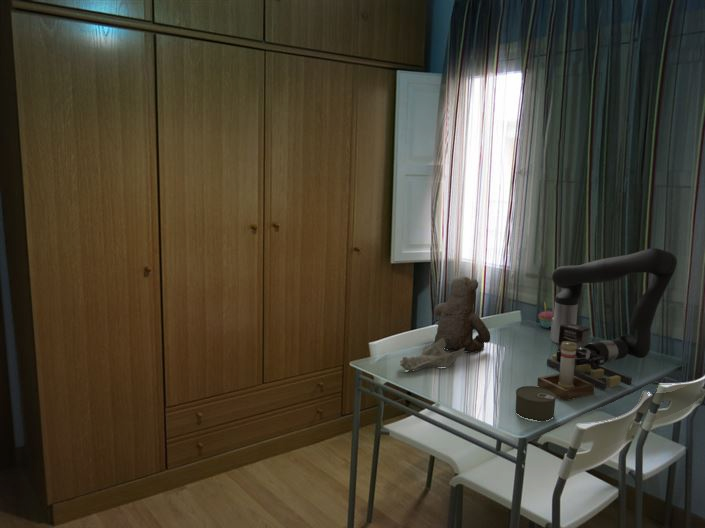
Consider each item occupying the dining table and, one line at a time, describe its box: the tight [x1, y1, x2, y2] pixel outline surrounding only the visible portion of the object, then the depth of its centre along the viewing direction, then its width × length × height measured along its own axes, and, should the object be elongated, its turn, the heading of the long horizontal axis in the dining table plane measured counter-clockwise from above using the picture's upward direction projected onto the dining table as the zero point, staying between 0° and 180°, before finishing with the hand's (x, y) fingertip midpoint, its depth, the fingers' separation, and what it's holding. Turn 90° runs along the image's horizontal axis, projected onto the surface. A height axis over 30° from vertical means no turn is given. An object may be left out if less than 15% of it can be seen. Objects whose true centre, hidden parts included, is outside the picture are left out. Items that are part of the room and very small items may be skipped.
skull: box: [399, 338, 466, 372], centre depth 228 cm, size 12×8×25 cm
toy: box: [433, 275, 491, 353], centre depth 249 cm, size 26×20×30 cm
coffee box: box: [557, 323, 591, 369], centre depth 228 cm, size 9×6×16 cm
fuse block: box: [546, 353, 633, 391], centre depth 223 cm, size 28×14×3 cm, turn 26°
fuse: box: [558, 341, 577, 389], centre depth 206 cm, size 5×5×16 cm
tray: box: [536, 372, 596, 401], centre depth 207 cm, size 13×13×3 cm
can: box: [515, 385, 557, 421], centre depth 188 cm, size 12×12×7 cm
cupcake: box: [537, 300, 554, 329], centre depth 281 cm, size 9×8×12 cm
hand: (566, 358), depth 206 cm, fingers open, 8 cm apart
